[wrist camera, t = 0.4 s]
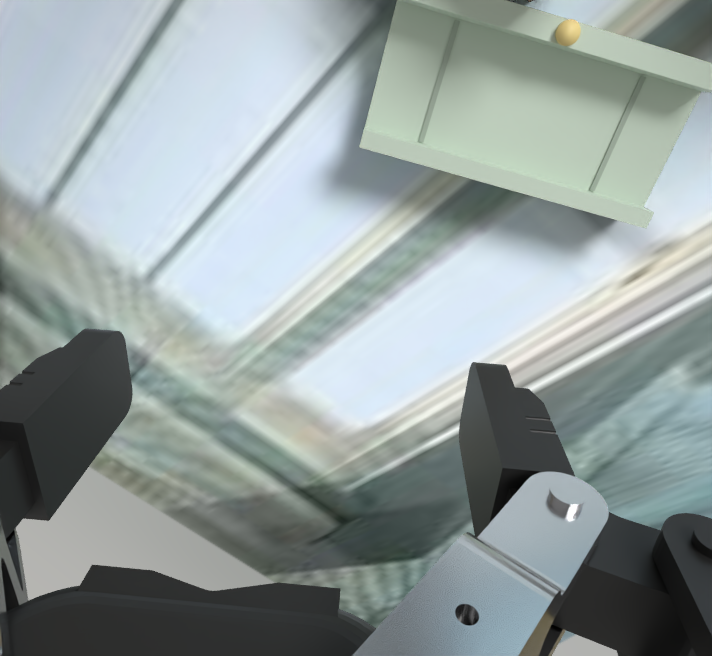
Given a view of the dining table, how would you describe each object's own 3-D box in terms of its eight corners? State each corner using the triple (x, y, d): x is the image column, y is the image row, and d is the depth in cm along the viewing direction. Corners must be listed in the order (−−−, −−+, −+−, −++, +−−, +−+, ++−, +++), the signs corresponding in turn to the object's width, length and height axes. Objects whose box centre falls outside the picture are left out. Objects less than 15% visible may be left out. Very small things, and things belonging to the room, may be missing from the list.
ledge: (402, -20, 31) (404, -32, 27) (694, 69, 32) (736, 69, 28) (361, 139, 35) (358, 149, 31) (623, 214, 36) (651, 232, 32)
